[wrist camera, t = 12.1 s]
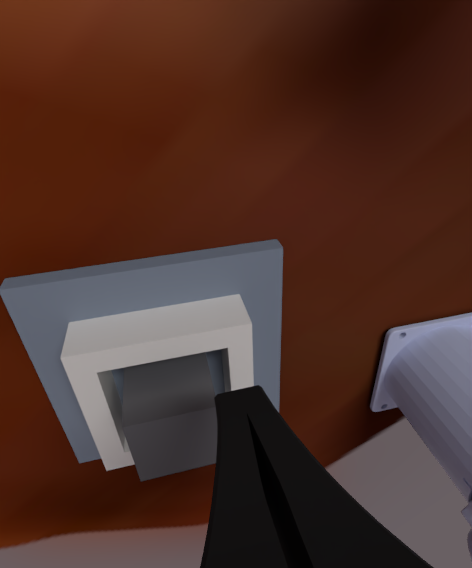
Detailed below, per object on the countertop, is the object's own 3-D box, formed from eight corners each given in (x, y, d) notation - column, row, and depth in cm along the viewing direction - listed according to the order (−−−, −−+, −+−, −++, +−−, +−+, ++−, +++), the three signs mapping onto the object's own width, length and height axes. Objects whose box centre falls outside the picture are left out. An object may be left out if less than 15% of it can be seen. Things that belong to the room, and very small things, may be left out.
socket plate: (276, 239, 19) (301, 273, 16) (274, 406, 26) (291, 450, 23) (4, 278, 17) (-22, 325, 14) (81, 449, 24) (74, 503, 21)
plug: (200, 332, 20) (217, 406, 16) (208, 384, 22) (224, 461, 18) (124, 347, 19) (121, 427, 15) (139, 398, 22) (140, 481, 18)
